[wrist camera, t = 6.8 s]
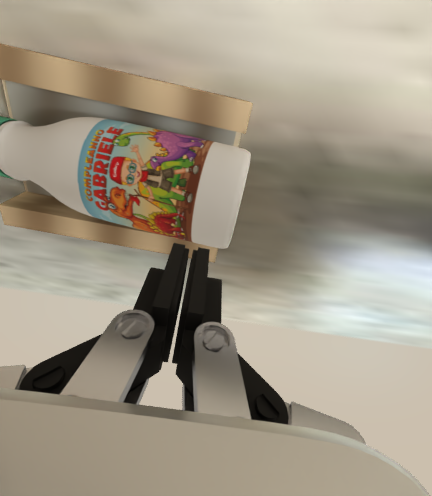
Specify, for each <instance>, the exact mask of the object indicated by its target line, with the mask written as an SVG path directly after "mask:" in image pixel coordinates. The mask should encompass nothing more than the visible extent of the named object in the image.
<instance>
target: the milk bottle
mask: <svg viewBox="0 0 432 496" xmlns="http://www.w3.org/2000/svg"><path fill="white" fill-rule="evenodd" d="M250 158H251V153H250V152H249V151H247V150H246V149H243V148H239V147H235V146H231V145H227V144H222V143H218V142H214V141H209V140H205V139H200V138H196V137H191V136H187V135H182V134H178V133H173V132H169V131H164V130H160V129H155V128H150V127H146V126H141V125H136V124H132V123H127V122H121V121H116V120H110V119H104V118H96V117H78V118H71V119H67V120H63V121H60V122H57V123H54V124H50V125H46V126H37V127H33V126H32V125H31V124H29V123H27V122H25V121H18V120H15V119H12V118H8V117H2V116H0V176H3V177H7V178H12V179H16V180H20V181H27V180H30V181H32V182H34V183H36V184H38V185H39V186H41V187H42V188H44V189H45V190H46V191H48V192H49V193H50V194H51V195H52V196H54V197H55V198H56V199H57V200H59V201H60V202H62V203H63V204H65V205H66V206H68V207H70V208H72V209H74V210H76V211H78V212H80V213H83V214H86V215H88V216H91V217H95V218H98V219H102V220H105V221H109V222H112V223H116V224H120V225H124V226H128V227H132V228H136V229H140V230H144V231H148V232H152V233H156V234H160V235H165V236H169V237H173V238H177V239H181V240H185V241H189V242H193V243H198V244H202V245H206V246H210V247H215V248H220V249H225V248H228V246H229V244H230V242H231V239H232V235H233V232H234V228H235V224H236V220H237V216H238V212H239V208H240V204H241V200H242V196H243V192H244V187H245V183H246V179H247V175H248V170H249V166H250Z"/></svg>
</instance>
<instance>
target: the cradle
mask: <svg viewBox="0 0 432 496" xmlns="http://www.w3.org/2000/svg"><path fill="white" fill-rule="evenodd" d="M0 79H2V84H3V89H4V93H5V98H6V103H7V108H8V112H9V117H10V118H12V119H15V120H18V121H25V122H27V123H29V124H31V125H32V126H33V127H37V126H46V125H50V124H54V123H57V122H60V121H63V120H67V119H71V118H78V117H96V118H104V119H110V120H116V121H121V122H127V123H132V124H136V125H141V126H146V127H150V128H155V129H160V130H164V131H169V132H173V133H178V134H182V135H187V136H191V137H196V138H200V139H205V140H209V141H214V142H218V143H222V144H227V145H231V146H235V147H239V142H240V138H241V134H242V133H245V134H246V130H247V126H248V122H249V117H250V113H251V109H252V105H253V103H251V102H249V101H245V100H241V99H236V98H232V97H228V96H224V95H219V94H215V93H211V92H206V91H202V90H198V89H194V88H189V87H185V86H181V85H176V84H172V83H168V82H163V81H159V80H155V79H151V78H146V77H142V76H138V75H133V74H129V73H125V72H121V71H116V70H112V69H108V68H103V67H99V66H95V65H90V64H86V63H82V62H78V61H73V60H69V59H65V58H60V57H56V56H52V55H48V54H43V53H39V52H35V51H30V50H26V49H22V48H17V47H13V46H9V45H5V44H0ZM23 183H24V188H25V192H23V193H21V194H19V195H17V196H15V197H13V198H11V199H9V200H7V201H5V202H3V203H1V204H0V211H1V214H2V218H3V221H4V225H10V226H15V227H21V228H26V229H32V230H38V231H43V232H49V233H54V234H60V235H65V236H71V237H76V238H82V239H87V240H93V241H98V242H104V243H109V244H115V245H120V246H126V247H131V248H137V249H142V250H148V251H153V252H159V253H165V254H170V252H171V249H172V246H173V243H178V244H183V245H185V248H188V249H189V255H188V258H192V253H193V249H194V250H198V247H200V248H205V249H210V253H209V262H214V263H215V259H216V255H217V251H218V248H215V247H210V246H206V245H202V244H198V243H193V242H189V241H185V240H181V239H177V238H173V237H169V236H165V235H160V234H156V233H152V232H148V231H144V230H140V229H136V228H132V227H128V226H124V225H120V224H116V223H112V222H109V221H105V220H102V219H98V218H95V217H91V216H88V215H86V214H83V213H80V212H78V211H76V210H74V209H72V208H70V207H68V206H66V205H65V204H63V203H62V202H60V201H59V200H57V199H56V198H55V197H54V196H52V195H51V194H50V193H49V192H48V191H46V190H45V189H44V188H42V187H41V186H39V185H38V184H36V183H34V182H32V181H30V180H27V181H23Z"/></svg>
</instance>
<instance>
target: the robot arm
mask: <svg viewBox="0 0 432 496" xmlns="http://www.w3.org/2000/svg"><path fill="white" fill-rule="evenodd" d="M209 253H210V249H205V248H200V247H198V250H194V249H193V253H192V258H191V263H190V268H189V273H188V278H187V283H186V288H185V294H184V299H183V304H182V309H181V314H180V320H179V326H178V332H177V337H176V343H175V349H174V355H173V360H172V363H176V364H177V369H176V375H177V376H178V377H179V379H180V380H181V381H182V383H183V387H182V398H183V399H182V400H183V401H182V402H183V403H182V406H183V408H182V410H176V409H167V408H160V407H153V406H145V405H139V403H140V401H141V399H142V396H143V393H144V391H145V389H146V387H147V384H148V381H149V378H150V377H152V376H153V375H154V374H156V373H158V372H159V370H161V366H162V362H168V358H169V354H170V349H171V344H172V339H173V335H174V330H175V325H176V320H177V315H178V311H179V306H180V301H181V296H182V290H183V284H184V278H185V272H186V267H187V261H188V255H189V249H188V248H185V245H183V244H178V243H173V246H172V249H171V252H170V255H169V258H168V261H167V264H166V267H165V270H163V269H157V268H150V270H149V273H148V275H147V277H146V280H145V282H144V285H143V287H142V289H141V292H140V294H139V297H138V299H137V302H136V304H135V306H134V309H133V310H127V311H124V312H122V313H120V314H118V315H117V316H116V317H115V318H114V319H113V320H112V321H111V323H110V324H109V326H108V327H107V328H106V330H105V331H104V333H103V334H101V335H99V336H97V337H95V338H92V339H90V340H88V341H86V342H84V343H82V344H79V345H77V346H75V347H73V348H71V349H69V350H67V351H65V352H62V353H60V354H58V355H56V356H54V357H52V358H49V359H47V360H45V361H43V362H41V363H40V364H38V365H36V366H34V367H33V368H26V366H25V365H17V366H3V367H0V496H430V495H429V493H428V492H427V491H426V489H425V488H424V487H423V486H422V485H421V484H420V482H419V481H418V480H417V479H416V478H415V477H414V476H413V475H412V474H411V473H410V472H408V471H407V470H406V469H405V468H403V467H402V466H401V465H400V464H398V463H397V462H395V461H394V460H392V459H391V458H389V457H387V456H386V455H384V454H382V453H381V452H379V451H377V450H376V449H374V448H372V447H370V446H368V445H366V443H365V441H364V439H363V438H362V436H361V435H360V433H359V432H358V431H357V430H356V429H355V428H354V427H353V426H351V425H349V424H348V423H346V422H344V421H341V420H339V419H336V418H333V417H331V416H328V415H326V414H323V413H320V412H318V411H315V410H313V409H310V408H307V407H305V406H302V405H300V404H297V403H295V402H291V404H289V403H286V402H284V401H283V400H282V398H281V397H280V396H279V394H278V393H277V392H276V391H275V390H274V389H273V388H272V387H271V386H270V385H269V384H268V383H267V382H266V381H265V380H264V379H263V378H262V377H261V376H260V375H259V374H258V373H257V372H256V371H255V370H254V369H253V368H252V367H251V366H250V365H249V364H248V363H247V362H246V361H245V360H244V359H243V358H242V357H241V356H240V355H239V354H238V353H237V349H236V345H235V340H234V337H233V334H232V332H231V331H230V330H229V329H228V328H227V327H226V326H224V325H223V324H221V298H222V280H221V279H215V278H209V277H207V275H208V264H209Z"/></svg>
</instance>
